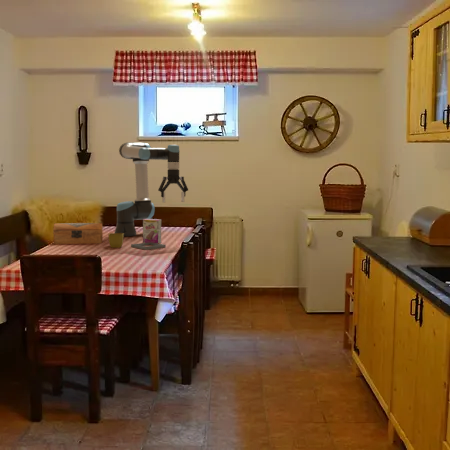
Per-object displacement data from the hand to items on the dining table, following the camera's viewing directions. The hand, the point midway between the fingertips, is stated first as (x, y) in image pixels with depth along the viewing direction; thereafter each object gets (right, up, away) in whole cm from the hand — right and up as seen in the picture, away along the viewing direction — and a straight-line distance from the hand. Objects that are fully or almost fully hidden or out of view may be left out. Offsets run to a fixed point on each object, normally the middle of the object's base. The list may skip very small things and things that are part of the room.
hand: (173, 202), depth 393 cm
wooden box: (-61, -28, -2) cm, 67 cm away
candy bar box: (-14, -28, +1) cm, 31 cm away
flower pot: (-34, -29, -18) cm, 48 cm away
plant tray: (-14, -29, -18) cm, 37 cm away
